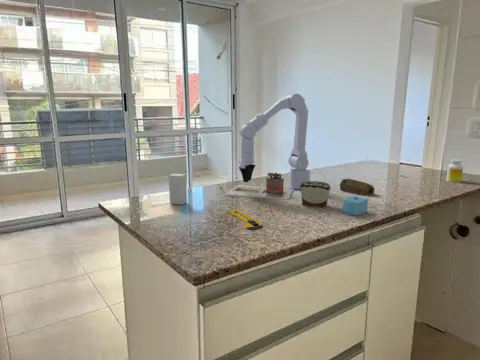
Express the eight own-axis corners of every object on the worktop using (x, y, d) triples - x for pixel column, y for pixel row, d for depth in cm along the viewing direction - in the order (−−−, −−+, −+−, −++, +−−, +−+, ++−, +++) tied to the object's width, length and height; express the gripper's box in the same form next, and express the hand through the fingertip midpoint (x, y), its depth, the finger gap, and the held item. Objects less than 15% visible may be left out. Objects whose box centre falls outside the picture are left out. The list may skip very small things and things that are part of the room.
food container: (332, 206, 147) (334, 182, 145) (329, 211, 142) (331, 185, 140) (302, 203, 152) (303, 179, 150) (298, 207, 147) (299, 182, 145)
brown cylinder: (337, 193, 169) (338, 179, 168) (345, 190, 174) (346, 176, 172) (367, 199, 158) (368, 184, 157) (375, 196, 163) (376, 182, 161)
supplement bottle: (463, 186, 181) (467, 161, 178) (449, 186, 181) (453, 161, 178) (455, 183, 187) (459, 158, 185) (442, 183, 187) (445, 158, 185)
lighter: (283, 194, 167) (284, 172, 165) (283, 195, 164) (283, 173, 162) (266, 193, 169) (266, 171, 166) (265, 194, 165) (265, 173, 163)
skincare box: (187, 202, 154) (186, 174, 151) (182, 204, 150) (181, 176, 147) (174, 200, 156) (173, 173, 153) (169, 203, 152) (168, 175, 149)
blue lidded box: (353, 222, 129) (354, 201, 128) (337, 218, 133) (338, 198, 132) (368, 214, 138) (369, 195, 136) (353, 211, 142) (354, 192, 140)
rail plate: (294, 191, 172) (294, 188, 172) (287, 201, 156) (287, 198, 155) (238, 186, 181) (238, 184, 181) (225, 195, 164) (225, 193, 164)
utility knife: (249, 234, 119) (249, 228, 118) (221, 214, 138) (221, 209, 138) (267, 231, 122) (267, 225, 121) (238, 212, 141) (238, 207, 141)
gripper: (243, 149, 174) (243, 177, 177) (233, 153, 161) (233, 183, 163) (258, 149, 172) (257, 178, 175) (249, 154, 158) (249, 184, 161)
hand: (247, 181), depth 169 cm, fingers open, 3 cm apart
